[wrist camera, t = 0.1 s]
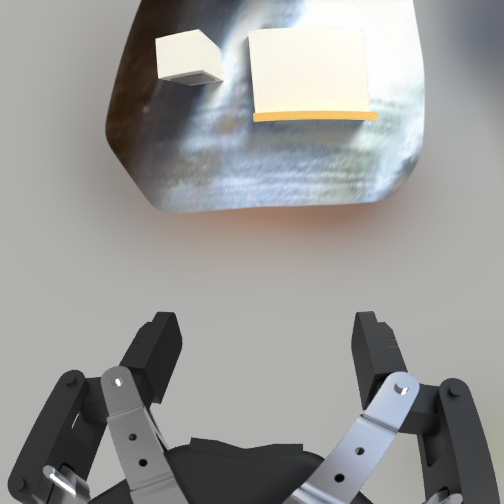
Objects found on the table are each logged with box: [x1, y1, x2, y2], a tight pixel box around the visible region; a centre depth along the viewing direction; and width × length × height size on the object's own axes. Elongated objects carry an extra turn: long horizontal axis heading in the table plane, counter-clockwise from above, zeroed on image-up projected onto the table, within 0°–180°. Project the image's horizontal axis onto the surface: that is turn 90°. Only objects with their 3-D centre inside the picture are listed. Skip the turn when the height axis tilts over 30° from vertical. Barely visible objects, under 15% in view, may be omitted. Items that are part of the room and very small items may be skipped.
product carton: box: [156, 29, 224, 86], centre depth 28 cm, size 5×4×11 cm
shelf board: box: [248, 28, 377, 122], centre depth 30 cm, size 12×14×5 cm
